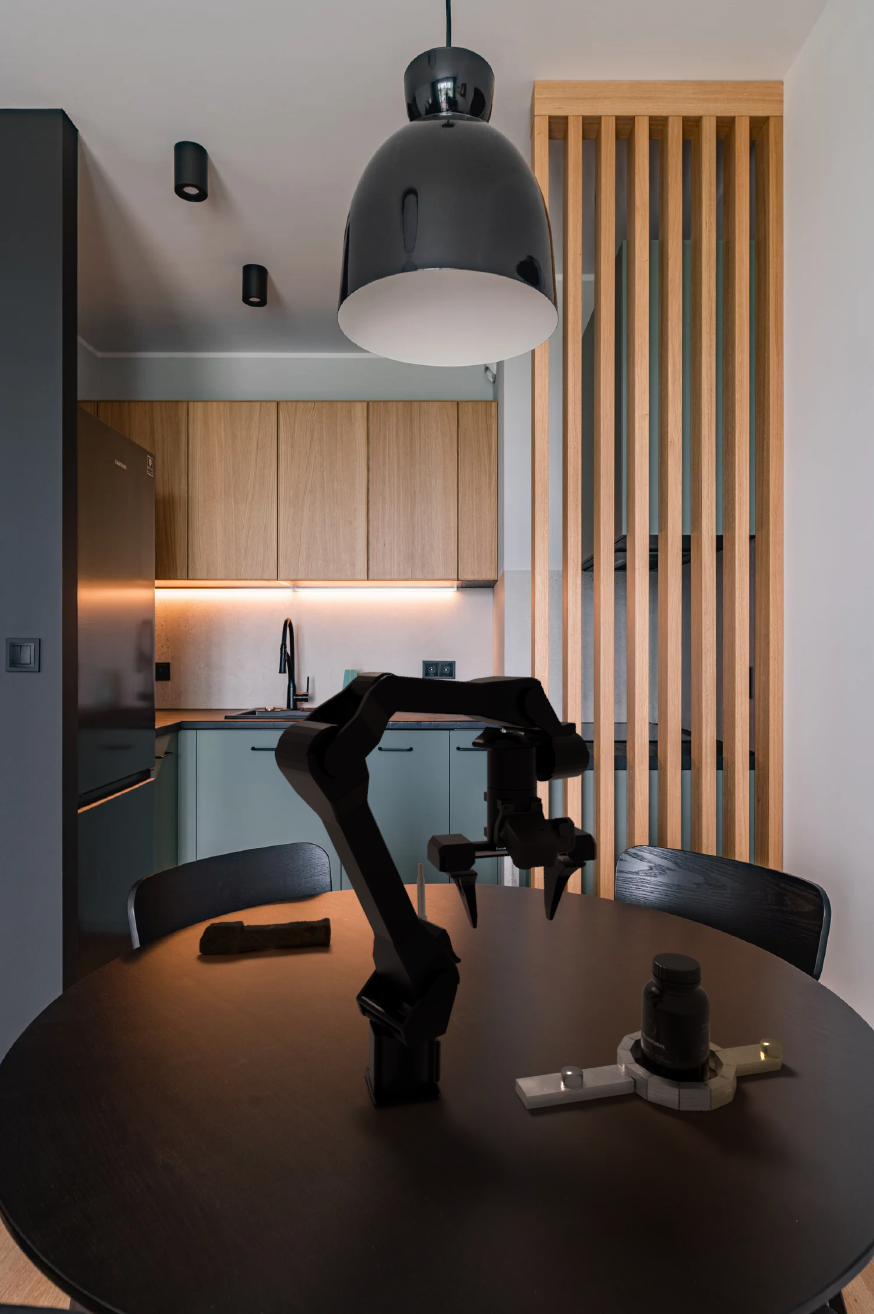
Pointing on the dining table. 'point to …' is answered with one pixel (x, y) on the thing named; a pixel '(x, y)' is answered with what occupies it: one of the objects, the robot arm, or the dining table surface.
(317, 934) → the hand tool
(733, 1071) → the ring with knobbed tab
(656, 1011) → the supplement bottle
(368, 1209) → the dining table surface
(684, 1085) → the segmented ring handle
